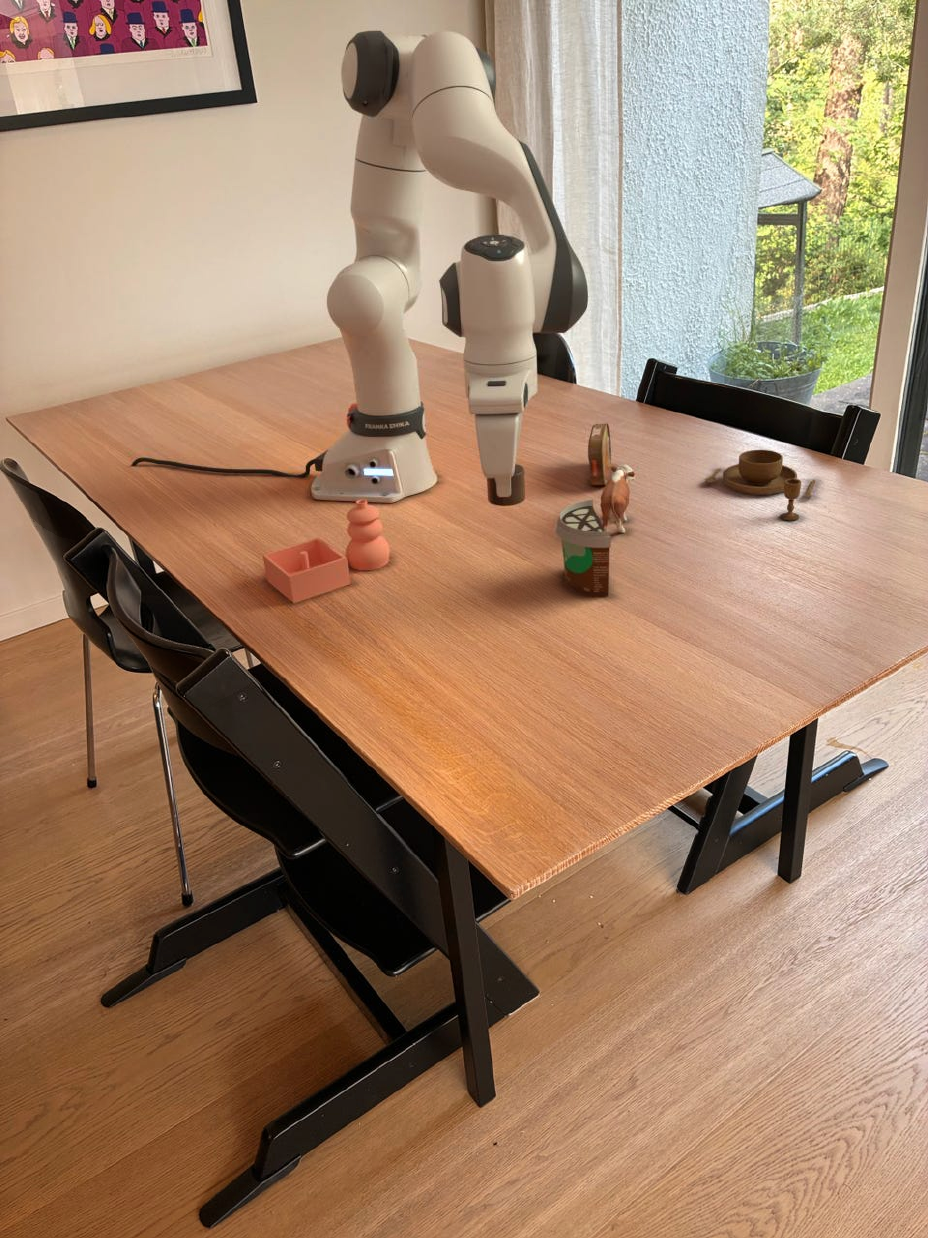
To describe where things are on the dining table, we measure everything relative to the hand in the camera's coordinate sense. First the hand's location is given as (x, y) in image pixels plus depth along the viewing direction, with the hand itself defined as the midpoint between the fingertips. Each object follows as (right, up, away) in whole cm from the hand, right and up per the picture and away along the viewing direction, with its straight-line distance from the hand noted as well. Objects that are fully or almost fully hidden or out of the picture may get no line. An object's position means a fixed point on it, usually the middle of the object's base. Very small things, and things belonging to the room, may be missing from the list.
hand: (506, 486), depth 128 cm
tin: (+18, +8, +47) cm, 51 cm away
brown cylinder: (0, -2, +1) cm, 2 cm away
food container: (+11, -12, +12) cm, 20 cm away
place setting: (+42, +3, +35) cm, 55 cm away
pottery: (-24, -10, +20) cm, 33 cm away
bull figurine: (+19, -2, +28) cm, 34 cm away
